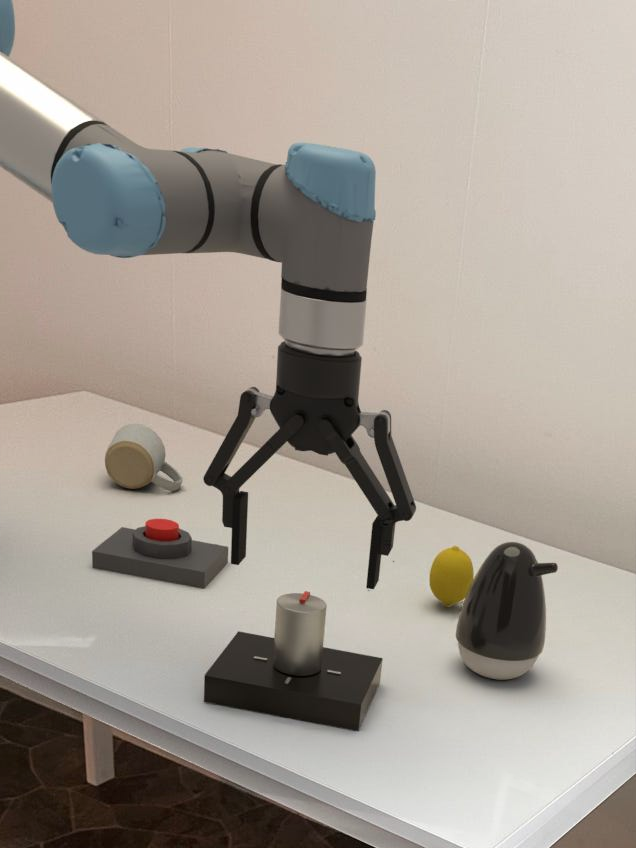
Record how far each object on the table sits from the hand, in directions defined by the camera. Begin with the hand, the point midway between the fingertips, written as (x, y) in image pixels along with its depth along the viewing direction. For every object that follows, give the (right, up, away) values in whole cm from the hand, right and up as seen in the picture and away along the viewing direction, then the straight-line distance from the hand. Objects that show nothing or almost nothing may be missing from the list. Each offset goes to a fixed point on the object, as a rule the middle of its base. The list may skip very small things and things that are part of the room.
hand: (305, 572), depth 117 cm
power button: (-22, +11, +29) cm, 38 cm away
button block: (-23, +8, +31) cm, 39 cm away
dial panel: (-2, -11, +7) cm, 13 cm away
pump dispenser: (+19, -7, +20) cm, 28 cm away
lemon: (+13, +4, +34) cm, 37 cm away
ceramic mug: (-32, +26, +57) cm, 70 cm away
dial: (-2, -8, +5) cm, 10 cm away
